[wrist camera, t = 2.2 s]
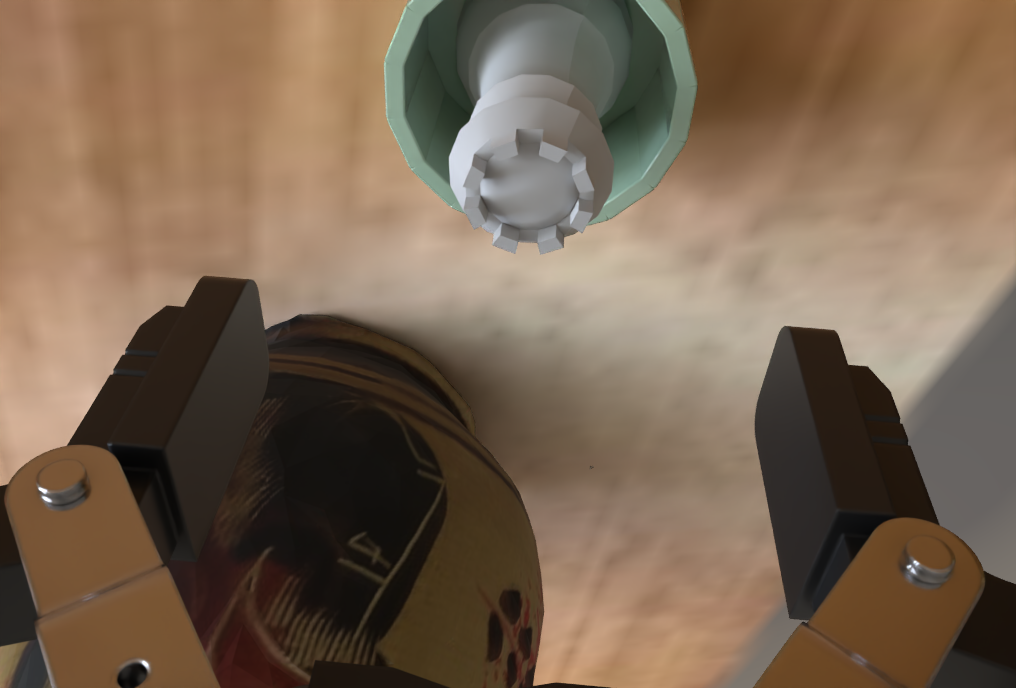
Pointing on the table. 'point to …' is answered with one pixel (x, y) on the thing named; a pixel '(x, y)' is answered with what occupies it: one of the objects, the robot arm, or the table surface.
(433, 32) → the cup
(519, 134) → the rook chess piece
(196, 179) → the table surface
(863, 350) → the table surface
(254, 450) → the ceramic jug
